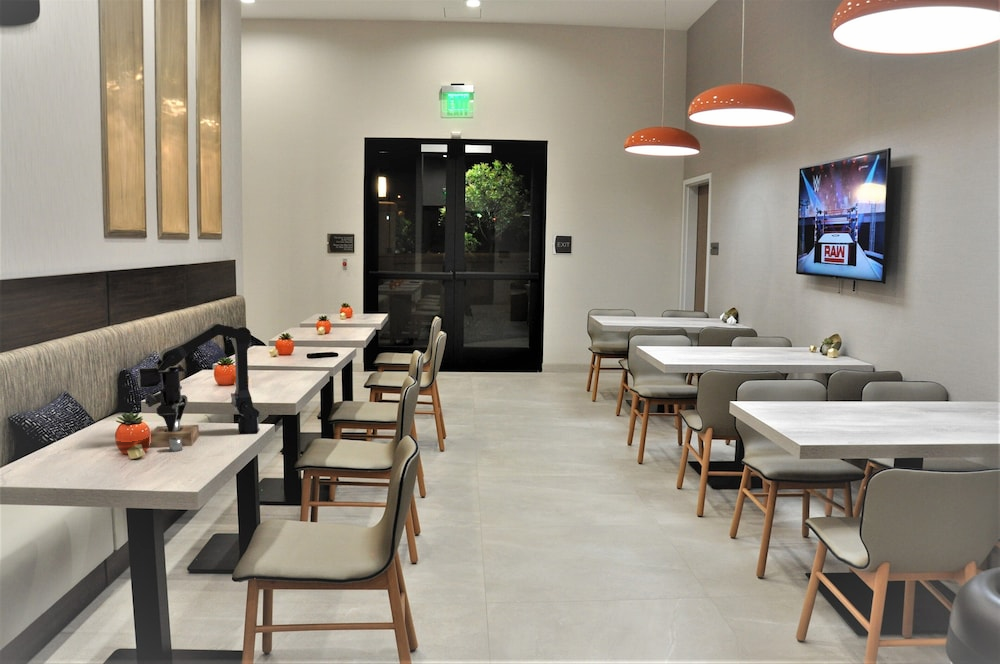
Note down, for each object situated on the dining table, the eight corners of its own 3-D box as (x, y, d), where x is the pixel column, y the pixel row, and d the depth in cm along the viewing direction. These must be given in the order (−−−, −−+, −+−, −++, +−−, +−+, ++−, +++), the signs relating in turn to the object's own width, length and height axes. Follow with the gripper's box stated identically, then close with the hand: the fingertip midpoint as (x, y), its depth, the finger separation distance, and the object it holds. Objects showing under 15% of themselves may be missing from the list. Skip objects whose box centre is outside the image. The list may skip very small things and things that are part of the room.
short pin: (183, 448, 262) (183, 437, 262) (180, 451, 258) (180, 440, 258) (171, 449, 262) (170, 437, 261) (168, 452, 258) (167, 440, 257)
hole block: (199, 436, 277) (198, 424, 277) (191, 445, 266) (191, 433, 265) (158, 438, 275) (157, 426, 274) (148, 447, 263) (148, 435, 263)
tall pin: (182, 440, 273) (180, 418, 272) (179, 443, 269) (178, 421, 268) (170, 441, 272) (168, 419, 271) (167, 444, 268) (165, 421, 267)
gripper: (154, 380, 275) (156, 423, 277) (139, 391, 257) (142, 436, 259) (186, 379, 277) (189, 421, 279) (174, 389, 259) (176, 434, 261)
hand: (173, 428), depth 270 cm, fingers open, 9 cm apart
